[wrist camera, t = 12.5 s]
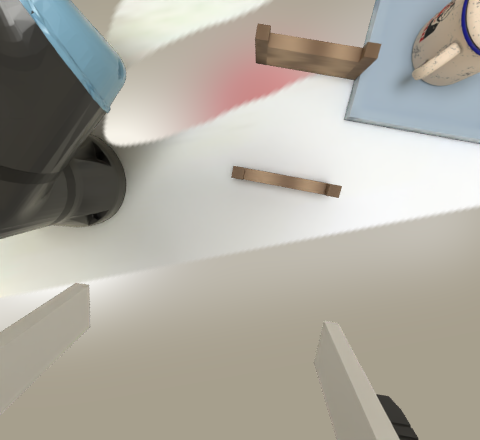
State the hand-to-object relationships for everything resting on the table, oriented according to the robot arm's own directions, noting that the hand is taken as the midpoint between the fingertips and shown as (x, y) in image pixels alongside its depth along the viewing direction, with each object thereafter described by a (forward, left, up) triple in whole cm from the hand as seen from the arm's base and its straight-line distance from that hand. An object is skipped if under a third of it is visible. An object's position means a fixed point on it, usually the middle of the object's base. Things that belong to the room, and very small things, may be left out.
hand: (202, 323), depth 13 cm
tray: (+22, +27, -26) cm, 43 cm away
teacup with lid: (+21, +27, -25) cm, 43 cm away
